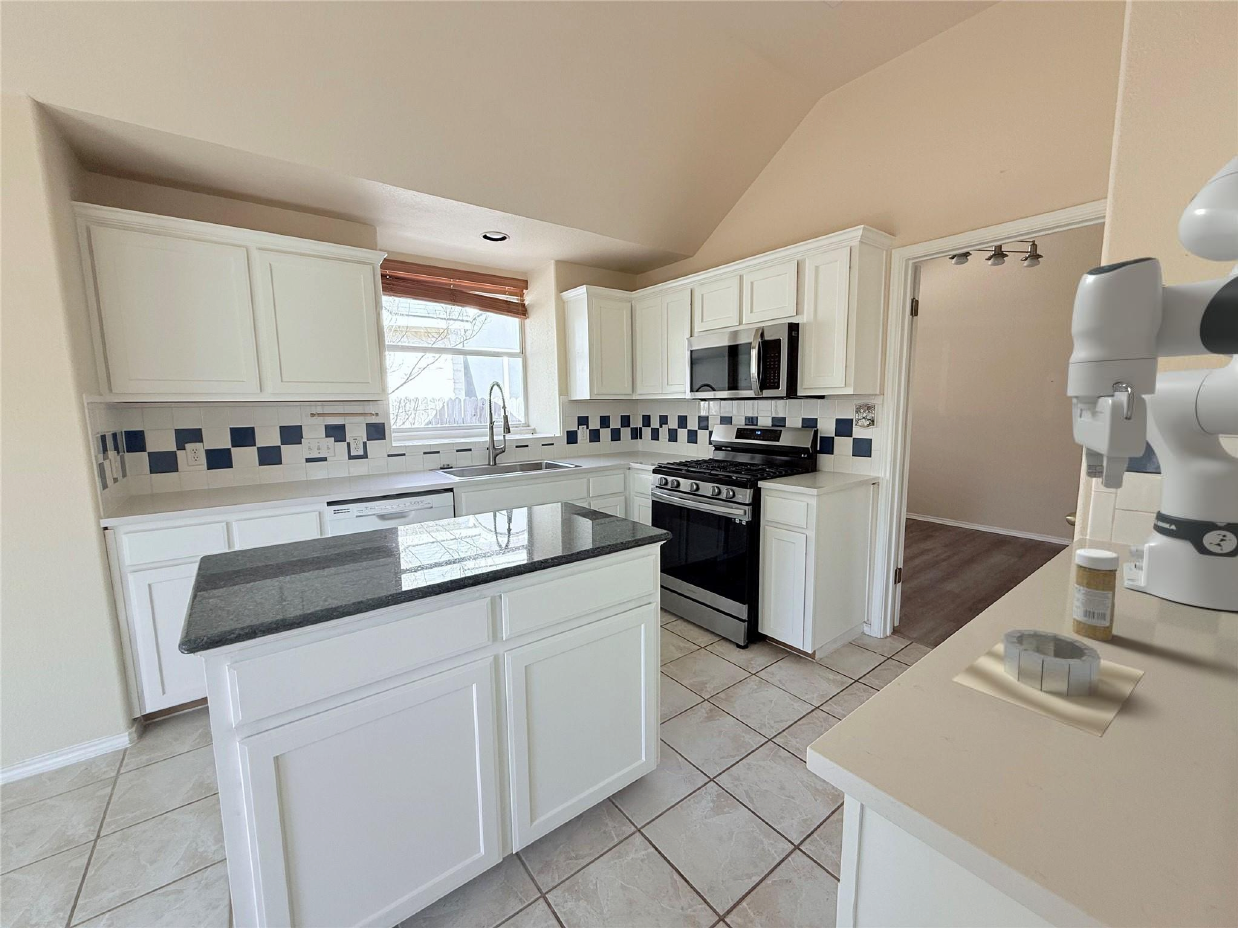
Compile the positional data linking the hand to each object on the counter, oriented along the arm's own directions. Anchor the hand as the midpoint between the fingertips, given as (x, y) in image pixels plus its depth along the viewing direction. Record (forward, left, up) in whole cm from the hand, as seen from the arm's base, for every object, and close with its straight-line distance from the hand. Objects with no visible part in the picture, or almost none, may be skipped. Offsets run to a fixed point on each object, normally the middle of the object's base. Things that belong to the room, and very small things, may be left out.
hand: (1102, 482), depth 72 cm
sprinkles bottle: (0, 0, -24) cm, 24 cm away
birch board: (+17, -7, -24) cm, 30 cm away
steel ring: (+17, -7, -22) cm, 29 cm away
